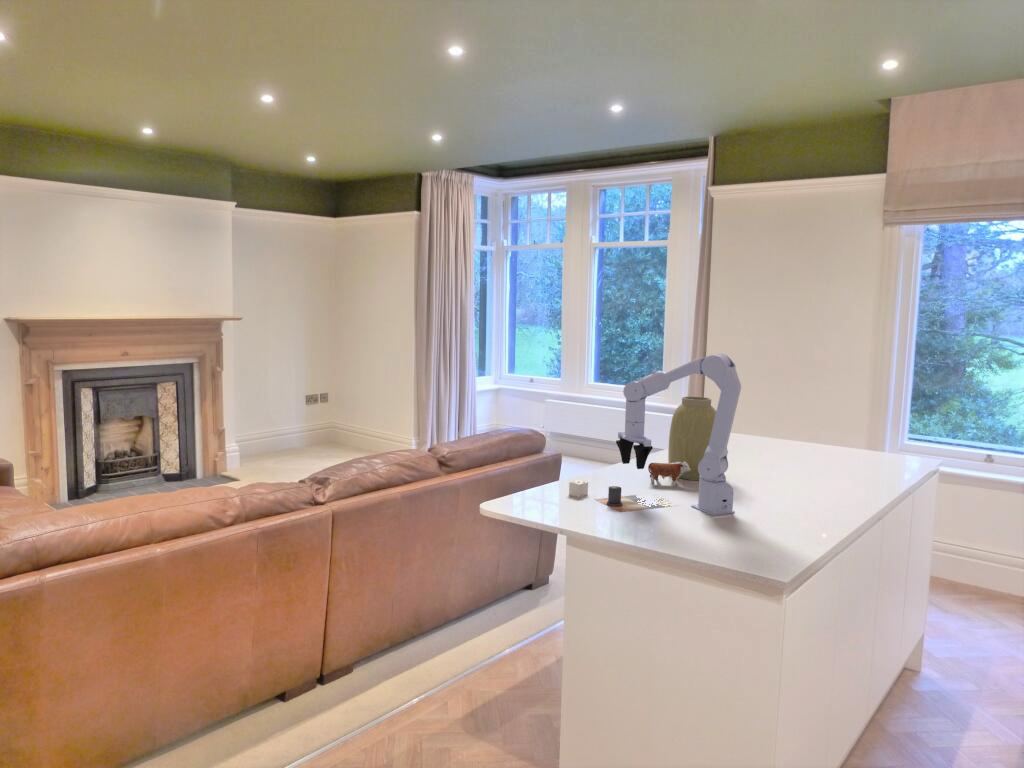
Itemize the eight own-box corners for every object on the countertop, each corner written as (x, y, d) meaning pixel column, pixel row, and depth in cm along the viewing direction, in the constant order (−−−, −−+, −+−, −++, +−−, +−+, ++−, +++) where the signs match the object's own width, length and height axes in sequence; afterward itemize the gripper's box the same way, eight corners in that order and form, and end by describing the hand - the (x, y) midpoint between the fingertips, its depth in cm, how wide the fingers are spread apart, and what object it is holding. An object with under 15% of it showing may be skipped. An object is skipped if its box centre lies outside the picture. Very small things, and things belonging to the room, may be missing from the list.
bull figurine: (690, 488, 225) (691, 463, 224) (647, 485, 228) (648, 460, 227) (689, 485, 229) (690, 460, 229) (647, 482, 232) (648, 457, 231)
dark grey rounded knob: (625, 505, 202) (625, 488, 201) (611, 507, 200) (612, 490, 199) (616, 502, 206) (617, 485, 205) (603, 503, 204) (604, 486, 203)
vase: (702, 469, 253) (706, 394, 250) (728, 480, 236) (733, 401, 234) (658, 471, 248) (661, 395, 246) (682, 483, 232) (686, 401, 229)
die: (587, 495, 214) (588, 482, 213) (579, 497, 211) (579, 484, 211) (577, 492, 217) (577, 479, 216) (569, 494, 214) (569, 481, 213)
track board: (679, 506, 204) (679, 505, 203) (620, 512, 195) (620, 511, 195) (650, 494, 216) (650, 493, 216) (594, 500, 208) (594, 499, 208)
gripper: (610, 418, 216) (608, 462, 217) (637, 425, 202) (635, 472, 204) (629, 417, 219) (627, 460, 220) (657, 424, 205) (655, 470, 207)
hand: (633, 466), depth 212 cm, fingers open, 7 cm apart
